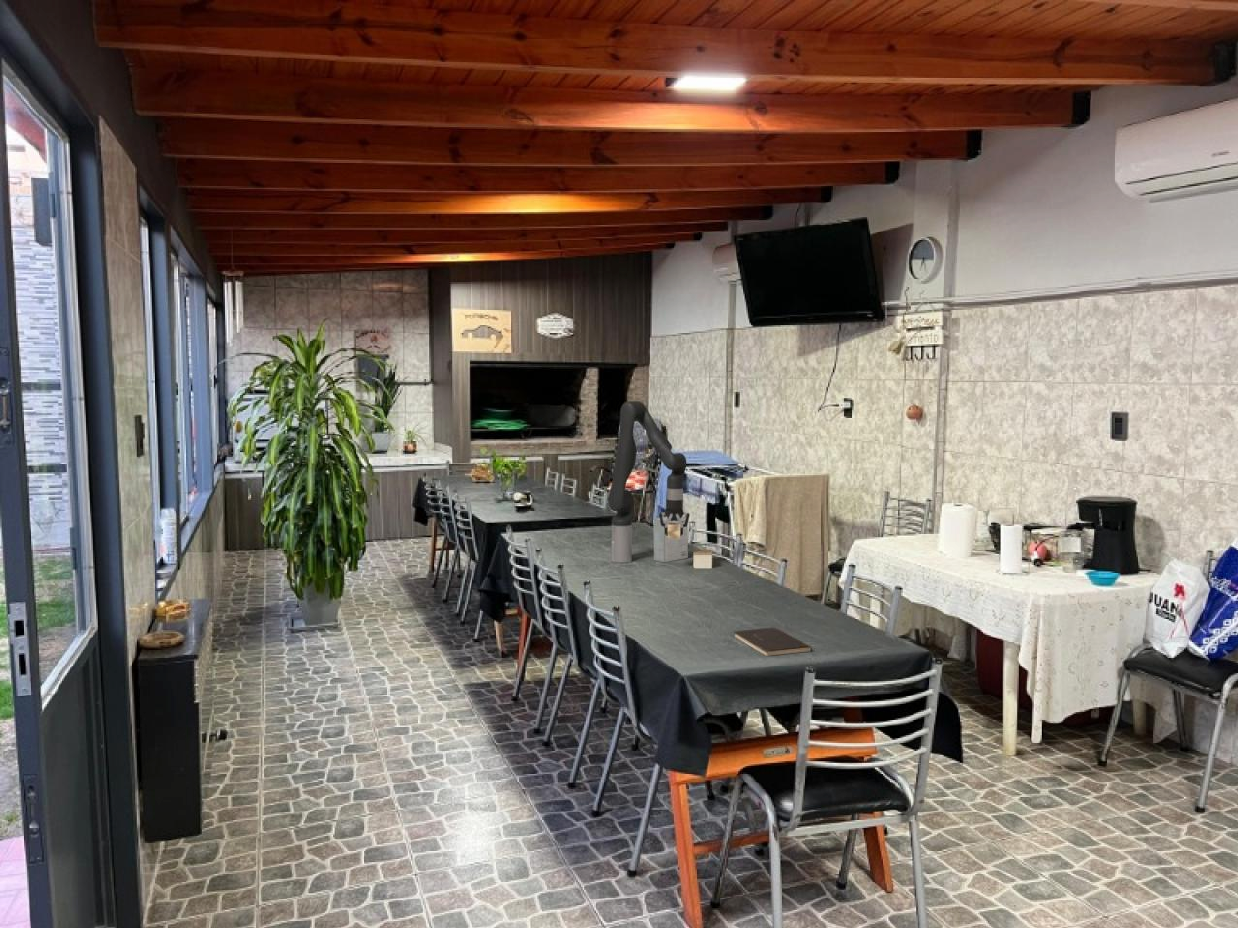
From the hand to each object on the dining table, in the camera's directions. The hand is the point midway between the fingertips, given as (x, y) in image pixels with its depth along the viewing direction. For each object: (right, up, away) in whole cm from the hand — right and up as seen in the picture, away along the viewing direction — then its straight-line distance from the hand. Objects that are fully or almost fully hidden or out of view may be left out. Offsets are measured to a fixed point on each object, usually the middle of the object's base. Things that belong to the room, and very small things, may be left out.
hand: (673, 535), depth 414 cm
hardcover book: (+25, -27, -114) cm, 120 cm away
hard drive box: (0, -13, +23) cm, 27 cm away
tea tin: (+13, -15, +7) cm, 21 cm away
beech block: (0, -1, 0) cm, 1 cm away
